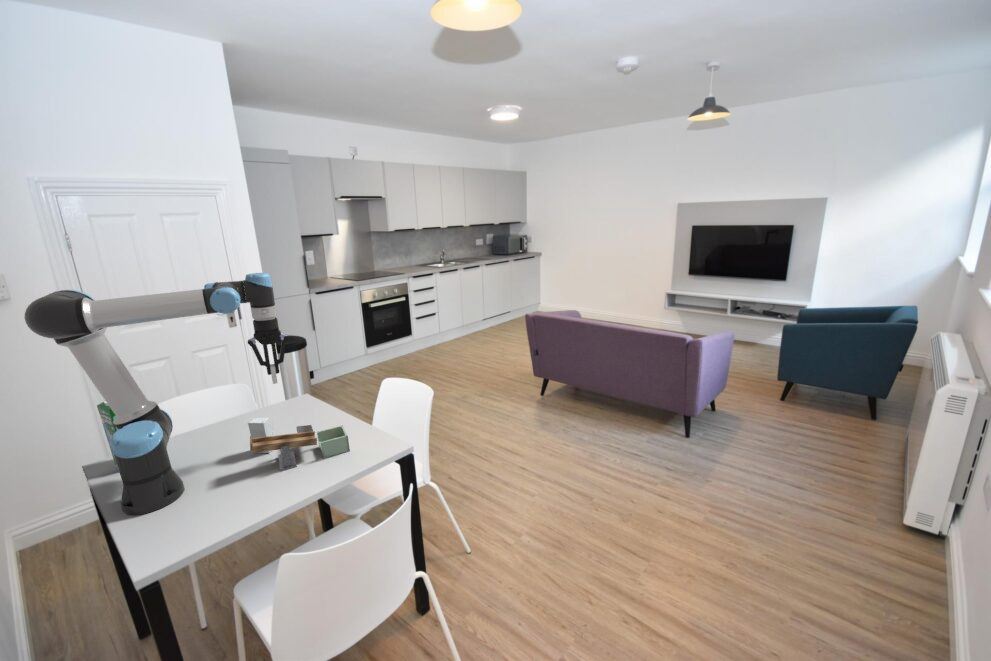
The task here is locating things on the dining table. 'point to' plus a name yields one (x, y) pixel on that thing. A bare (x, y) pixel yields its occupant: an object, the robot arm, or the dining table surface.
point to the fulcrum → (286, 458)
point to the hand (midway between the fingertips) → (275, 382)
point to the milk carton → (107, 422)
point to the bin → (333, 441)
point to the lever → (284, 440)
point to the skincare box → (260, 429)
